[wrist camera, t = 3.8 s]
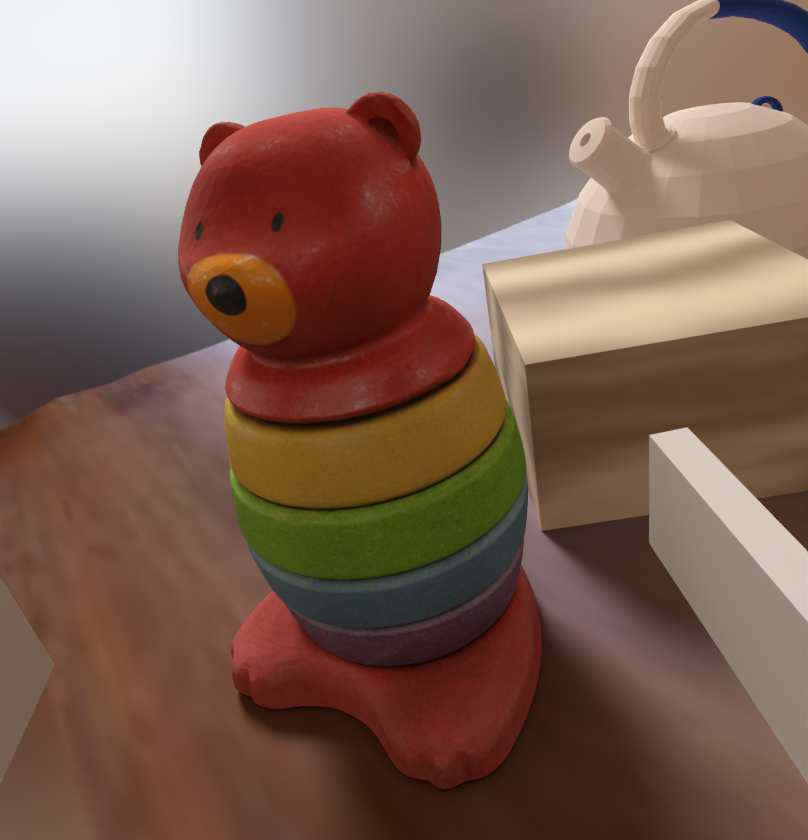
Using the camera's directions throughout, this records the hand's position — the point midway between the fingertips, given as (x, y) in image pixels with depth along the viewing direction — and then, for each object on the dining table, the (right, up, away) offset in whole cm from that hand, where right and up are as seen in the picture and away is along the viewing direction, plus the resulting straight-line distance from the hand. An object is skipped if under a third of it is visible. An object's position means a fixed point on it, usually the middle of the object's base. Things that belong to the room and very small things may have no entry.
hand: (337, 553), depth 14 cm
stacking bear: (+2, -5, +11) cm, 13 cm away
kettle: (+24, +13, +37) cm, 45 cm away
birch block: (+13, +2, +20) cm, 24 cm away
